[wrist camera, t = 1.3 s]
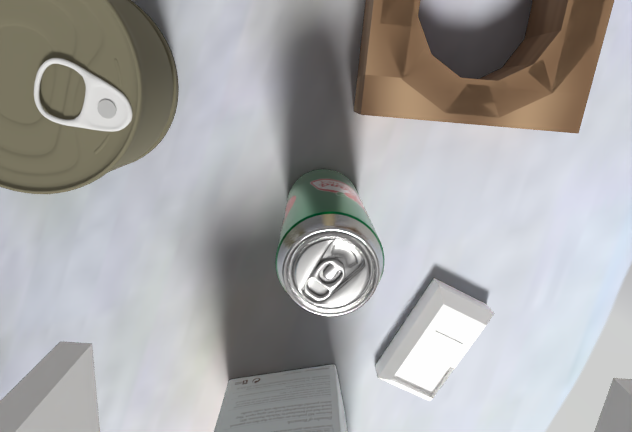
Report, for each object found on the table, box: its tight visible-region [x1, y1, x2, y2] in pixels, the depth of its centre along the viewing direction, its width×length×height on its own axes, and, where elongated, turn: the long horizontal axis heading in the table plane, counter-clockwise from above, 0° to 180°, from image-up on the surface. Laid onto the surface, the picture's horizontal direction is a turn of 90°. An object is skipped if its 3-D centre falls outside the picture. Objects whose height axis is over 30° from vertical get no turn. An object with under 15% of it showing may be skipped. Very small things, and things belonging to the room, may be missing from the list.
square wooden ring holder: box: [354, 0, 614, 133], centre depth 24 cm, size 13×13×4 cm
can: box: [0, 0, 178, 194], centre depth 23 cm, size 12×12×7 cm
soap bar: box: [375, 278, 494, 401], centre depth 32 cm, size 5×9×3 cm, turn 152°
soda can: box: [276, 169, 384, 316], centre depth 24 cm, size 5×5×12 cm
